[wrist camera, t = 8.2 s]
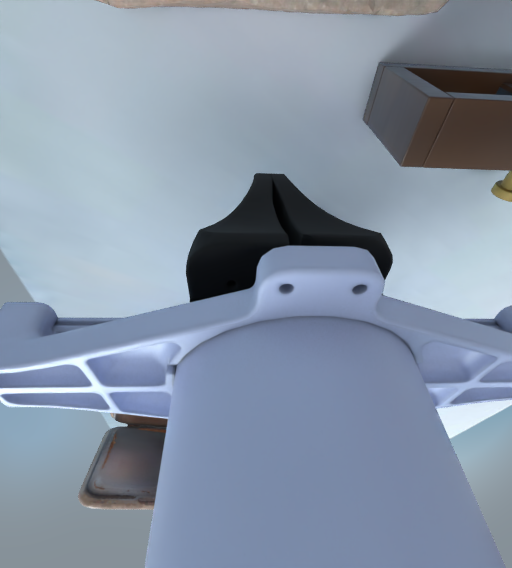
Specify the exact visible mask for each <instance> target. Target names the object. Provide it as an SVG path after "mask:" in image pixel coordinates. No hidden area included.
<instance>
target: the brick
mask: <svg viewBox="0 0 512 568" xmlns="http://www.w3.org/2000/svg"><path fill="white" fill-rule="evenodd" d="M96 1H100V2H103V3H106V4H108V5H111V6H114V7H117V8H146V7H201V8H202V7H214V8H232V9H258V10H269V11H284V12H301V13H323V14H372V15H388V16H403V15H424V14H429V13H434V12H438V11H439V10H440V9H441V8H442V7H443V6H444V5H445V4H446V3H447V1H448V0H96Z"/></svg>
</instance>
